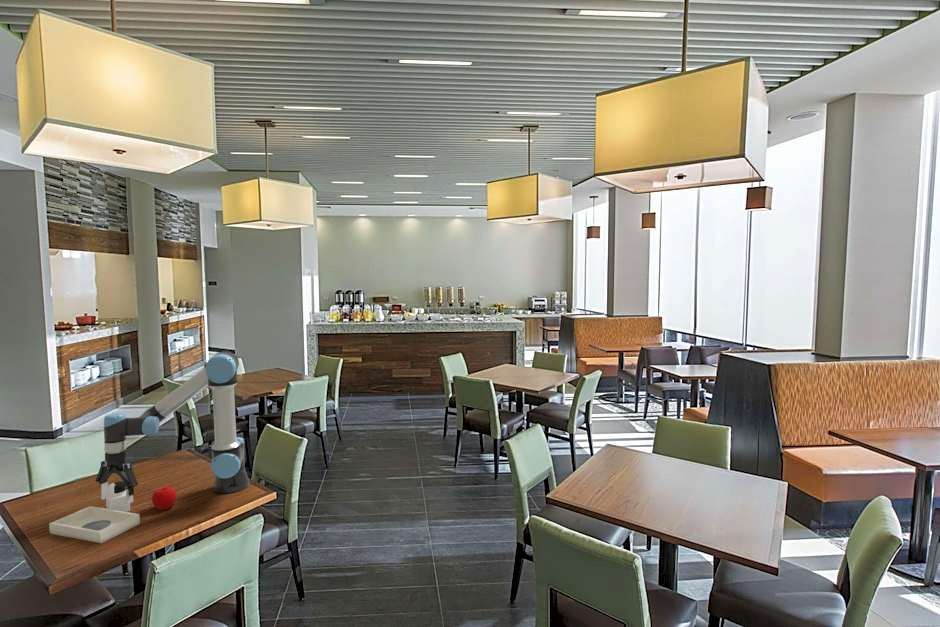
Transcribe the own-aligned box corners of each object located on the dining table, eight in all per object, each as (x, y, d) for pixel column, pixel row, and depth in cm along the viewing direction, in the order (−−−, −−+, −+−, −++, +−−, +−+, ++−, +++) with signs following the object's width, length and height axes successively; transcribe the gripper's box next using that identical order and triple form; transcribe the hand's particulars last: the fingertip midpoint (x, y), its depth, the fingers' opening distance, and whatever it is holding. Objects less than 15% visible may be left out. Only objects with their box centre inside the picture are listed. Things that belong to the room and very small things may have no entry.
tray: (139, 524, 208) (139, 514, 208) (101, 543, 193) (100, 532, 193) (90, 515, 216) (90, 506, 216) (49, 533, 201) (49, 523, 200)
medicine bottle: (126, 505, 225) (125, 478, 224) (130, 511, 220) (129, 483, 219) (106, 511, 220) (105, 483, 219) (110, 516, 215) (108, 487, 214)
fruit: (154, 505, 226) (153, 482, 225) (177, 501, 229) (177, 479, 228) (150, 514, 217) (149, 490, 216) (175, 510, 221) (174, 487, 220)
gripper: (147, 451, 218) (148, 500, 220) (101, 445, 225) (103, 493, 227) (130, 456, 211) (132, 508, 212) (84, 450, 218) (86, 500, 220)
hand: (117, 500), depth 220 cm, fingers open, 13 cm apart
